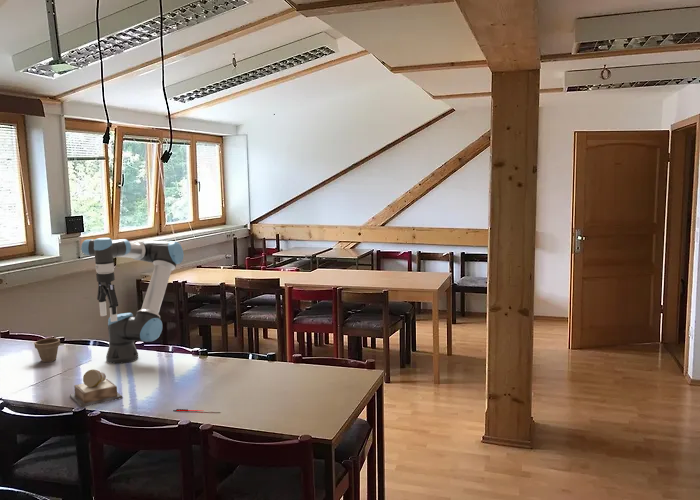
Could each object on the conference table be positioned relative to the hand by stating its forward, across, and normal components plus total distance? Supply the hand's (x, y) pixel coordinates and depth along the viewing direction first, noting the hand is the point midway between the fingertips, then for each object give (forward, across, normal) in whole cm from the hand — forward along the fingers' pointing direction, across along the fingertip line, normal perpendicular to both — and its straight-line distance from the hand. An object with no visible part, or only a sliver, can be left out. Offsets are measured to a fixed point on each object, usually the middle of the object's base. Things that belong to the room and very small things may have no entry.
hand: (108, 318), depth 269 cm
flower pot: (+28, -48, -16) cm, 57 cm away
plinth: (+26, +23, -15) cm, 38 cm away
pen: (+27, +66, +9) cm, 72 cm away
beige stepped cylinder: (+22, +22, -14) cm, 34 cm away
